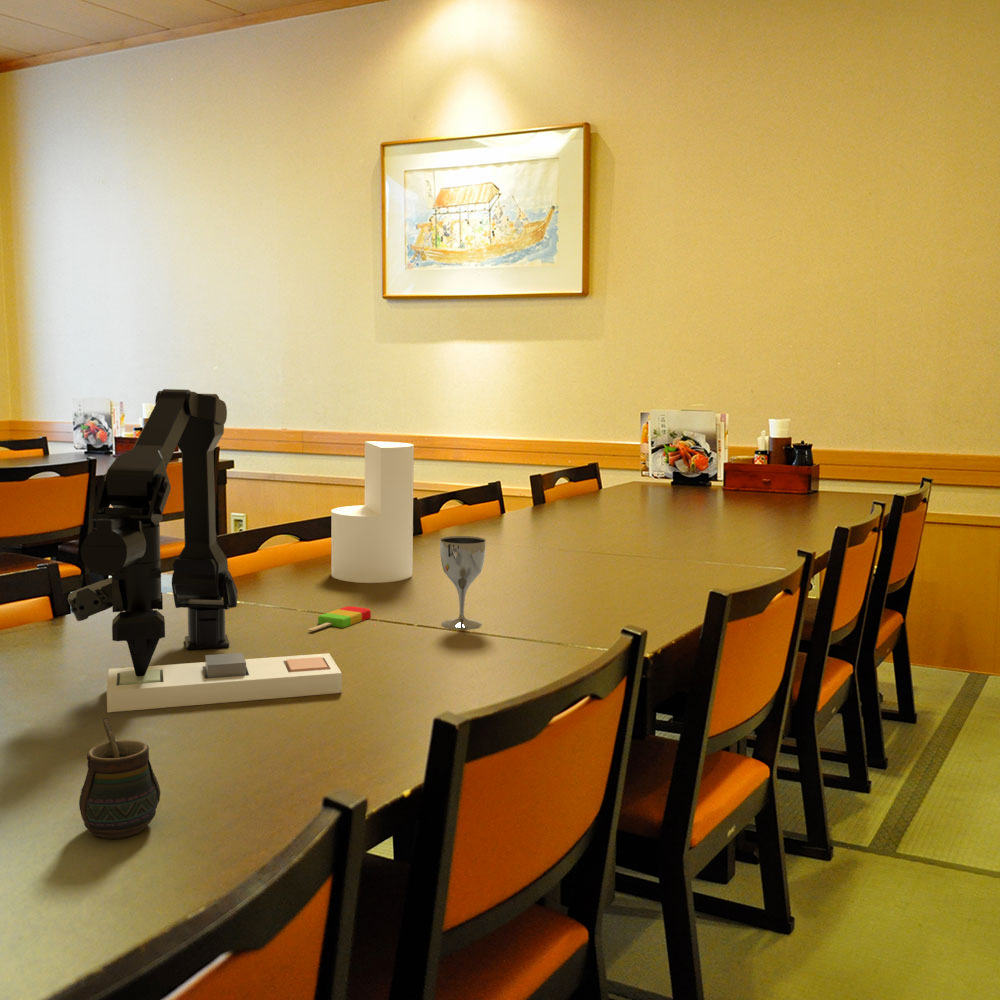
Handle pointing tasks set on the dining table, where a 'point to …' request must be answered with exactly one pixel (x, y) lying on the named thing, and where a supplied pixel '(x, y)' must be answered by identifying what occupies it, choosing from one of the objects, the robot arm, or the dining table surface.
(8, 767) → the dining table surface
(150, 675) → the sage key
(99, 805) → the mate gourd
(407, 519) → the cylinder
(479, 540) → the wine glass
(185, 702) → the cream block puzzle board
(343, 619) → the popsicle
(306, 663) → the terracotta key
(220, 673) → the charcoal key
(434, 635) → the dining table surface
